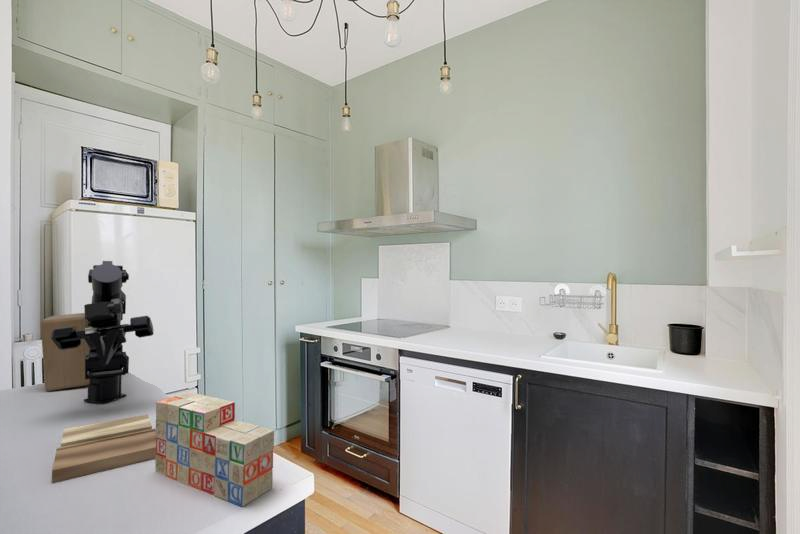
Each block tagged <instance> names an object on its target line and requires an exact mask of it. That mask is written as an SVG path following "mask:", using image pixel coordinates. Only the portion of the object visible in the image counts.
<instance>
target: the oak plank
mask: <svg viewBox="0 0 800 534" xmlns="http://www.w3.org/2000/svg"><path fill="white" fill-rule="evenodd" d="M149 429H153V425H152V423H151V419H150V417H149V414H148V413H147V414H142V415H137V416H129V417H124V418H120V419H115V420H114V419H113V420H108V421H102V422H97V423H91V424H85V425H81V426H72V427H69V428H64V429H63V433H62V438H61V443H60V444H61V445H60V447H64V446H69V445H74V444H79V443H84V442H89V441H94V440H99V439H104V438H109V437H114V436H119V435H124V434H129V433H134V432H139V431H144V430H149Z"/></svg>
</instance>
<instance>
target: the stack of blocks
mask: <svg viewBox="0 0 800 534" xmlns="http://www.w3.org/2000/svg"><path fill="white" fill-rule="evenodd" d="M235 412H236V404H235V401H231V400H226V399H222V398H219V397H213V396H208V395H204V394H199V393H196V392H191V391H188V392H184V393H180V394H177V395H174V396H171V397H167V398H164V399H160V400H158V401H156V402H155V431H156V456H155V461H154V462H155V472H156V473H159V474H160V473H161V475H162V474H163V475H162V476H165V477H167V478H169V479H171V480H174V481H176V482H178V483H181V484H183V485H184V486H190V487H192V488H195V489H198V490H200V491H202V492H205V493H208V494H210V495H212V496H215V497H217V498H219V499H222V500H225V501H227V502H229V503H231V504H234V505H237V506H239V507H241V508H242V507H244V506H246V505H247V504H249V503H251V502H252V501H254V500H255V499H256V498H258V497H260V496H262V495H263V494H264V493H267V492H268V491H269V490H271V489H272V488H273V483H274V481H273V479H274V477H273V475H274V474H273V468H274V448H275V429H271V428H266V427H264V426H261V425H256V424H252V423H250V422H249V423H248V422H245V421H242V420H235V419H236V418H235V417H236V413H235Z"/></svg>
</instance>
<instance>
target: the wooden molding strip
mask: <svg viewBox="0 0 800 534" xmlns="http://www.w3.org/2000/svg"><path fill="white" fill-rule="evenodd" d="M55 451H56V452H55V455H54V460H53V463H52V464H53V466H52V470H51V483H52V484H53V483H57V482H62V481H65V480H70V479H73V478H78V477H81V476H86V475H91V474H96V473H99V472H100V473H101V472H103V471H107V470H112V469H116V468H119V467H120V468H121V467H125V466H130V465H133V464H137V463H140V462H141V463H142V462H146V461H149V460H154V459H155V456H156V427H154V428H152V429H149V430H144V431H139V432H134V433H129V434H124V435H119V436H114V437H109V438H104V439H99V440H94V441H89V442H84V443H79V444H74V445H69V446H64V447H61V446H59V447H56V450H55Z"/></svg>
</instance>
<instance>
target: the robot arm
mask: <svg viewBox="0 0 800 534" xmlns="http://www.w3.org/2000/svg"><path fill="white" fill-rule="evenodd" d="M123 268H124V267H123V265H114V264H113V260H102V264H95V265H93V266H92V268H91V269H89V271H88V275H87V282H88V283H89V284H91V287H92V288H91V289H92V296H91V303H87V304H84V313H85V319H87V324H88V326H91V328H85V329H84V331H78V330H77V329H76V327H75V326H69V327H62V328H56V329H55V330H54V331H53V332H52V336H51V339H52V340H53V342H54V343H55V344H56V346H57V347H58V348H59V349H61V350H65V349H71V348H77V347H78V346H79V345H81V340H82V339H84V340H85V341H86V343H87V344H88V346H89V347H90V350H89V355H86V357H85V380H86V379H90V381H89V384H88V385H87V398H85V399H83V402H85V403H94V404H107V403H110V402H113V401H116V400H119V399H121V398H124V397H127V394H126V393H122V376H125V375H127V374H129V363H130V357H129V356H128V354H127V352H126V351H123V350H124V348H123V344H125V343H126V342H127V339H126V334H127V333H131V332H134V334H135V336H136V337H137V338H146V337H152V336H153V335H154V326H153V322H152V319H151V317H150V316H149V315H143V316H142V315H141V316H136V317H135V316H134V317H130V320H129V323H125V324H124V323H123V324H121V323H122V322H121V321H122V320H123V319H124V317H123V316H124V315H125V314H126V312H127V311H126V309H127V308H126V307H127V305H126V304H127V301H126V299H127V295H126V293H124V291H122V287H123V284H126V283H127V282H128V281H129V280H130V279H129V278H130V275H129V273H128V272H127V269H123Z"/></svg>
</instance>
